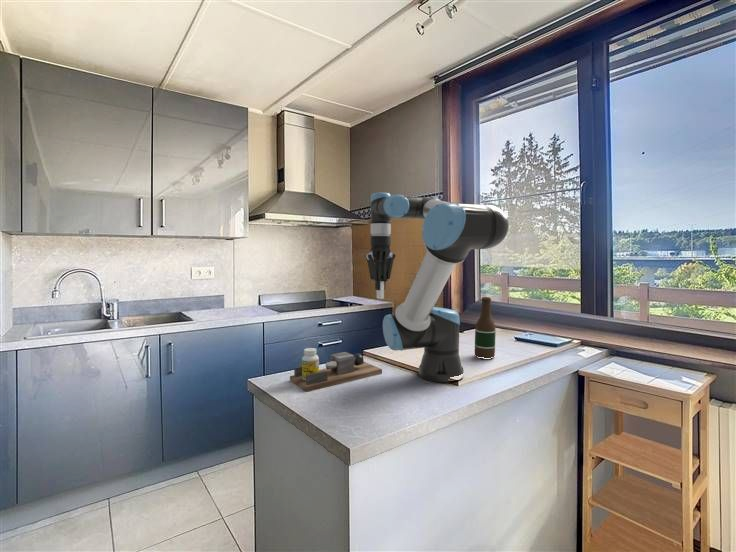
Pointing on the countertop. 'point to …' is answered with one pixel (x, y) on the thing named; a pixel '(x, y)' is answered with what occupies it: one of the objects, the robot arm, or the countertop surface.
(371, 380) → the countertop surface
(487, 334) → the beer bottle
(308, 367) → the supplement bottle
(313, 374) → the base
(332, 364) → the shaft
